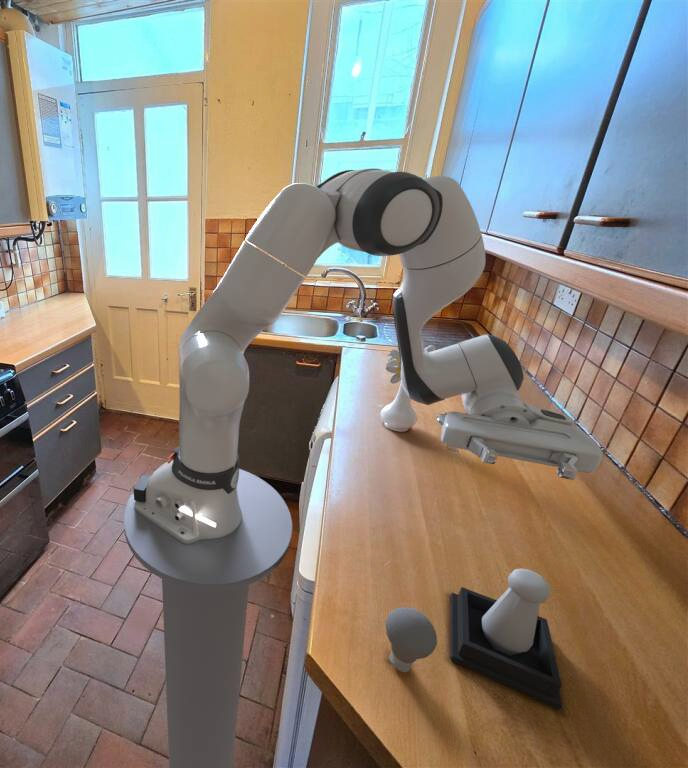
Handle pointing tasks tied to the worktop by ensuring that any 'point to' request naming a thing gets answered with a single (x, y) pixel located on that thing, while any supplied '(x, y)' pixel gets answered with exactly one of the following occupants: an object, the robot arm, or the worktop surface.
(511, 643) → the salt shaker
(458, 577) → the worktop surface
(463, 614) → the pad
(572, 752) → the worktop surface
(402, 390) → the flower vase
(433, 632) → the light bulb
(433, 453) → the worktop surface
